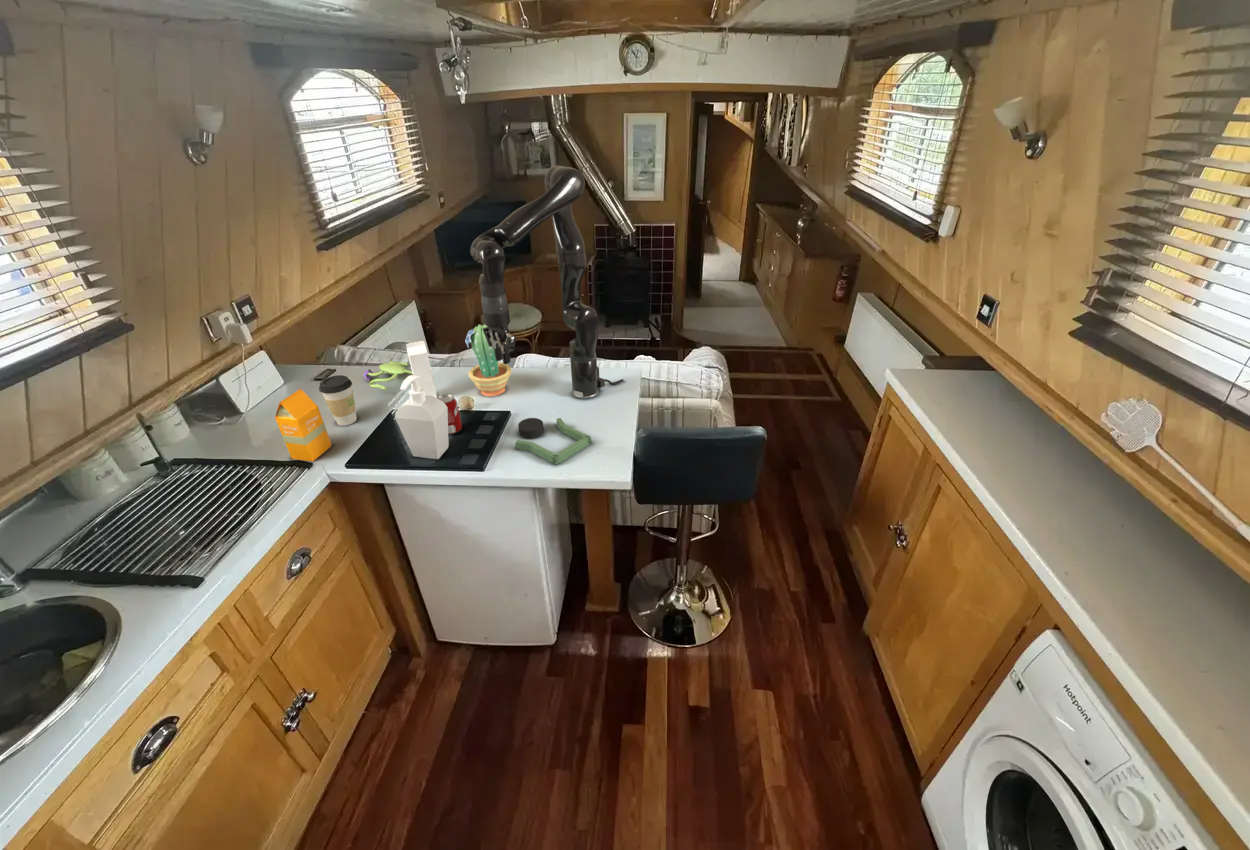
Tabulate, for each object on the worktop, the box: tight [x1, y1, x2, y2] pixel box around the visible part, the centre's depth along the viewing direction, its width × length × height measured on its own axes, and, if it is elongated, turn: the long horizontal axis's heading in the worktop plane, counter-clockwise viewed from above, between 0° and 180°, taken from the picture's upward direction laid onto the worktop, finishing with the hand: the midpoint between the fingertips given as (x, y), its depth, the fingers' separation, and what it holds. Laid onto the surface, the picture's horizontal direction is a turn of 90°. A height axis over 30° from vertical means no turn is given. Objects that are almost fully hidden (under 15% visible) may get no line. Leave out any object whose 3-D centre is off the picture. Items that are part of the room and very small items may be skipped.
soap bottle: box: [394, 374, 449, 460], centre depth 163 cm, size 12×10×26 cm
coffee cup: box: [318, 374, 358, 426], centre depth 183 cm, size 10×10×15 cm
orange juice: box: [274, 388, 332, 462], centre depth 166 cm, size 8×9×20 cm
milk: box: [405, 340, 438, 398], centre depth 193 cm, size 6×6×22 cm
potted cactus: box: [464, 323, 512, 397], centre depth 197 cm, size 15×15×25 cm
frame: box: [515, 417, 592, 466], centre depth 172 cm, size 19×16×2 cm
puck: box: [517, 417, 545, 440], centre depth 178 cm, size 8×8×3 cm
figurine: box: [362, 360, 413, 392], centre depth 210 cm, size 18×27×6 cm
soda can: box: [437, 393, 463, 436], centre depth 177 cm, size 7×7×12 cm
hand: (503, 361), depth 173 cm, fingers open, 3 cm apart
